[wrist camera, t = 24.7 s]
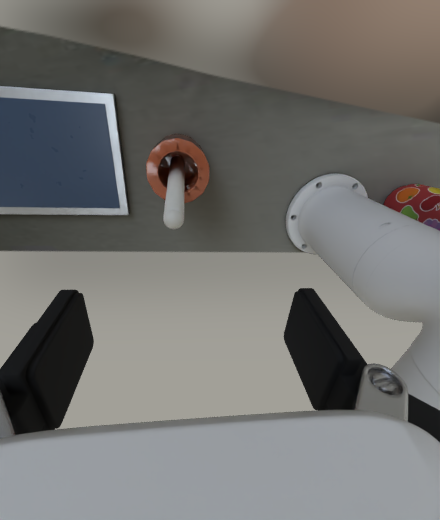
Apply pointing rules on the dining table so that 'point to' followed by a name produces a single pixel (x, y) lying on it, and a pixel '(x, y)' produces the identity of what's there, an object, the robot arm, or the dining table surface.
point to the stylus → (175, 194)
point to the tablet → (60, 153)
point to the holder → (192, 158)
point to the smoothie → (417, 203)
